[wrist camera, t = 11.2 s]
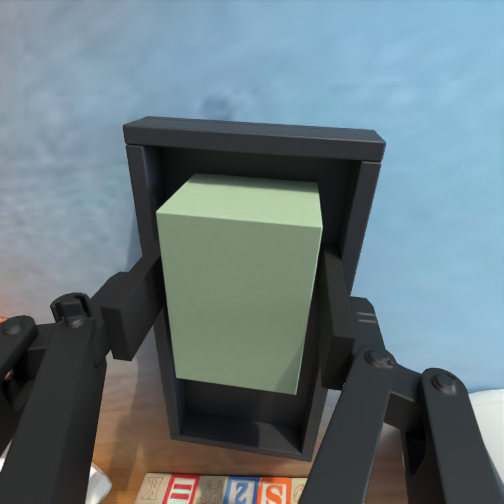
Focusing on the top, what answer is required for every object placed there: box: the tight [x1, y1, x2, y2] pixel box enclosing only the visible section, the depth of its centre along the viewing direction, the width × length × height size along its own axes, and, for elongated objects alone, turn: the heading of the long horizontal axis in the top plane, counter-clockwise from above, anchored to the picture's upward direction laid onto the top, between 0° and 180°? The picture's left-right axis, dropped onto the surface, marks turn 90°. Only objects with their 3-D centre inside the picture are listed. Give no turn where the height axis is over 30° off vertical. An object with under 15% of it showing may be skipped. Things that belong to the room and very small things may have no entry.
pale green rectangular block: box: [156, 173, 323, 395], centre depth 16 cm, size 9×6×5 cm, turn 178°
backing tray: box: [123, 116, 386, 462], centre depth 20 cm, size 23×11×3 cm, turn 178°
